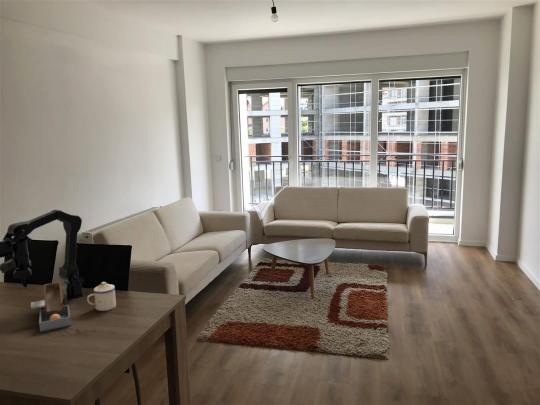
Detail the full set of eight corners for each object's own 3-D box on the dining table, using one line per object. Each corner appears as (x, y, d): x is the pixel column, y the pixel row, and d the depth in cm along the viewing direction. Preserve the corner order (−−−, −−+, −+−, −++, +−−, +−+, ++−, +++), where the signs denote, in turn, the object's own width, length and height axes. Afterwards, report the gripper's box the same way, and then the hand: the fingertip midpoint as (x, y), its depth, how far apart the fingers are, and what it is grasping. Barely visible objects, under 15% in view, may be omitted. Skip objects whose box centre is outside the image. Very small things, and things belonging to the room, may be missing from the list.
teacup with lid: (115, 301, 197) (112, 277, 195) (118, 308, 189) (115, 283, 187) (87, 307, 192) (84, 282, 190) (89, 314, 184) (86, 288, 182)
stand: (68, 307, 192) (67, 292, 191) (69, 311, 187) (67, 296, 186) (41, 312, 187) (39, 297, 186) (41, 317, 182) (39, 301, 181)
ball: (60, 316, 178) (59, 310, 176) (61, 324, 175) (60, 319, 173) (49, 318, 176) (48, 313, 174) (50, 326, 174) (49, 321, 171)
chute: (63, 292, 196) (62, 281, 194) (65, 313, 181) (64, 302, 179) (32, 297, 190) (31, 286, 188) (32, 320, 176) (30, 308, 174)
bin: (69, 313, 186) (68, 304, 185) (71, 325, 173) (70, 316, 173) (40, 318, 181) (39, 310, 180) (40, 332, 168) (39, 323, 168)
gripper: (0, 250, 187) (4, 284, 190) (-4, 261, 171) (2, 298, 174) (28, 246, 192) (33, 279, 195) (28, 256, 176) (33, 292, 179)
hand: (25, 287), depth 186 cm, fingers closed
